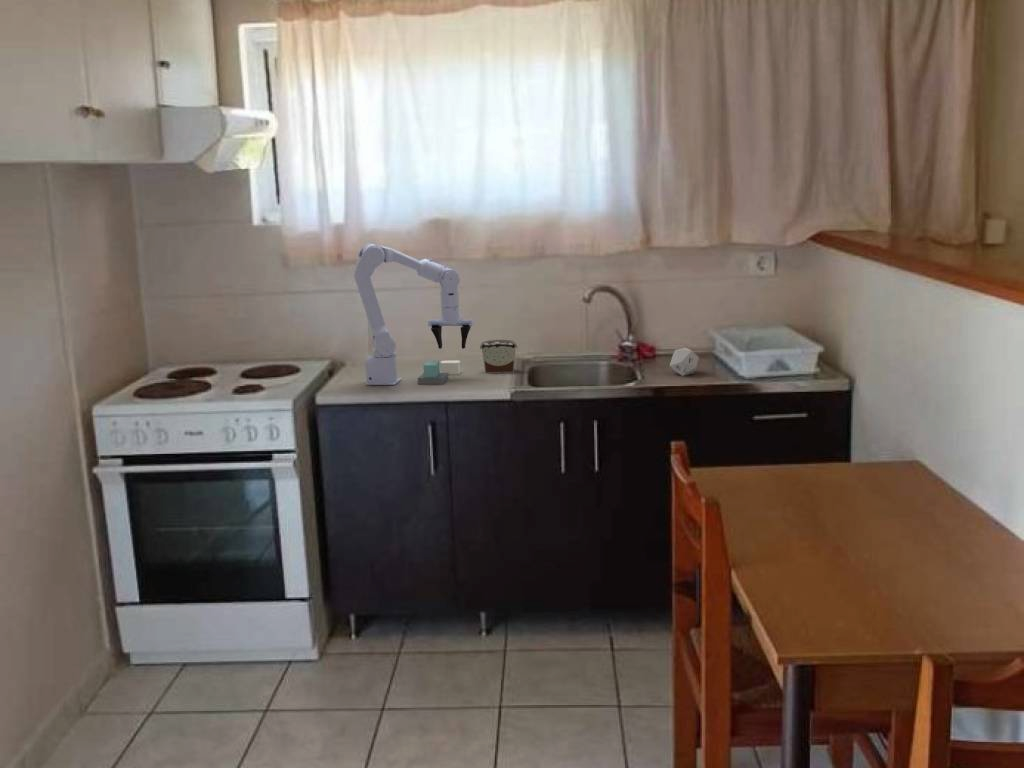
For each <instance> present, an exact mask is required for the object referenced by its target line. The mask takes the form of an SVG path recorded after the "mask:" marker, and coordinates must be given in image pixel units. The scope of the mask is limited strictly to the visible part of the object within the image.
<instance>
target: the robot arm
mask: <svg viewBox="0 0 1024 768" xmlns="http://www.w3.org/2000/svg"><path fill="white" fill-rule="evenodd" d="M393 262H395V263H397V264H399V265H403V266H405V267H408V268H410V269H413V270H415V271H416V273H417V275H418V276H419V277H421V278H424V279H427V280H429V281H432V282H434V283H435V284H437V283H439V285H440V308H441V309H440V311H441V312H440V313H441V318H435V319H434V318H433V319H428V320H427V324H428V325H427V326H428V327H431V328H430V330H431V332H432V334H433V335H434V337H435V340H436V344H437V346H438V347H437V348H438V349H439V350H441V349H442V348H443V338H442V328H443V327H460V334H461V336H460V337H461V349H465V348H466V344H467V339H468V336H469V333H470V331H471V329H472V327H474V325H475V324H474V323H475V322H474V318H473V319H470V318H460V301H459V289H458V288H459V286H458V285H459V284H460V281H461V278H460V277H459V273H457V272H456V270H454V269H452V268H450V267H448V266H447V265H445V264H440V263H437V262H434V260H433V258H429V257H428V259H427V258H423V259H421V260H419V259H416V258H414V257H412V256H409V255H407V254H405V253H403V252H401V251H399V250H396V249H394V248H391V247H388V246H384V245H378V244H376V243H373V242H371V243H370V242H369V243H366V244H365V245H364V246H363V247H362V248H361V249H360V251H359V252H358V254H357V260H356V264H355V266H354V271H353V277H354V280H355V283H356V286H357V290H358V292H359V296H360V299H361V302H362V305H363V308H364V310H365V311H364V312H365V314H366V317H367V319H368V324H369V326H370V330H371V331H370V332H371V335H372V340H371V344H372V347H373V348H374V349H375V350H374V351H373V353H372V355H369V354H368V355H367V356H366V358H365V375H366V376H365V377H366V383H365V385H366V386H370V385H372V386H383V385H384V386H396V385H397V383H399V382H400V381H401V380H402V377H398V370H397V369H398V368H397V353H396V352H395V351H396V349H397V346H396V344H397V343H396V342H395V340H394V339H393V338H392V337H391V336H390V332H389V331H388V328H387V326H386V325H387V324H386V321H385V320H384V316H383V313H382V310H381V307H380V303H379V300H378V297H377V295H376V291H375V288H374V285H373V282H372V279H371V277H372V275H373V274H374V272H375V271H376V269H377V268H379V266H381V265H382V264H383V263H385V264H388V263H393Z"/></svg>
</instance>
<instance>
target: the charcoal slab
mask: <svg viewBox="0 0 1024 768" xmlns="http://www.w3.org/2000/svg"><path fill="white" fill-rule="evenodd" d="M447 379H449V375H448V373H441V372H440V374H439V375H438V376H437V378H424V372H423V373H422V374H421V375H419V376H418V378H417V385H444V384H445V383H446V382H447V381H448V380H447ZM446 380H447V381H446ZM445 381H446V382H445Z"/></svg>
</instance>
